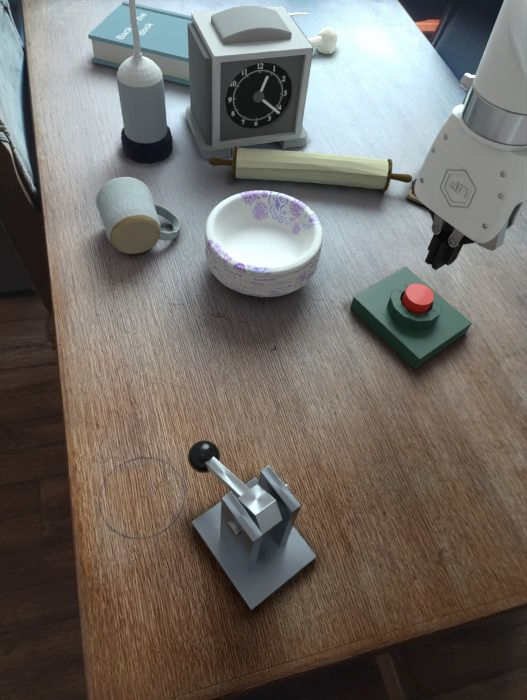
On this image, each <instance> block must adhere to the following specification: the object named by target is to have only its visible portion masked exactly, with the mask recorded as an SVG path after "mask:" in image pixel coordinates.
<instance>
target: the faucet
mask: <svg viewBox="0 0 527 700" xmlns="http://www.w3.org/2000/svg"><path fill="white" fill-rule="evenodd" d="M288 14H289V15H290V16H291V17H294V16H295V17H296V16H306V15H309V14H310V13H309V12H288ZM307 39H308V40H309V41H310V43H311V44H312V46H313V49H315V48H317V51H318V52H319V53H320V54H325V55H331V54H333V53H335V50H336V46H337V42H338V34H337V32H336V30H335V29H334V28H333V27H332V28H331V27H329V26H327V27H324V28H322V29H321V30H320V31H319V33H318V34H317V36H313V37H309V38H307Z"/></svg>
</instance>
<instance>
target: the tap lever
mask: <svg viewBox="0 0 527 700" xmlns="http://www.w3.org/2000/svg"><path fill="white" fill-rule="evenodd" d="M220 460H221V452H220V449H219V447H218V446H217V445H216V444H215V443H214V442H212V441H210V440H207V439H203V440H198V441H196V442H194V443H193V444H192V445H191V446H190V448H189V449H188V452H187V462H188V465H189V466H190V468H191V469H192V470H193V471H195V472H196V473H199V474H207V473H210V474H212V476H213V477H215V478H216V479H217V480H218V481H219V482H220V483H221V485H223V486H224V487H225V488H226V489H227V490H228V491H229V492H232V493H233V494H234V496H236V497H237V498H238V501H239V503H240V504H241V505H242V507H243V508H244V509H245V511H246V512H247V513H248V515H249V516H250V517H251V519H252V520H253V522H254V523H255V524H256V526H257V527H258V528H259V530H260V531H261V532H262V534H264V533H265V532H267V531H268V530H269V529H271V528H272V527H273V526H275V525H276V524H277V523H279V522H280V521H281V520H282V517H281V513H280V510H279V507H278V504H277V501H276V500H275V499H274V498H273V497H272V496H271V495H270V494H269V493H267V492H266V491H265V490H264V489H263V488H262V487H261V486H259V485H258V484H257V485H256V486H254V487H253V488H251V489H249V488H248V487H247V486H246V485H245V484H246V483H245V482H243V481H242V480H241V479H240V478H239V477H237V476H236V475H235V474H234V473H233V472H232V471H231V470H229V468H227V466H225V465H224V463H222V462H221V461H220Z"/></svg>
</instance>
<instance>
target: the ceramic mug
mask: <svg viewBox="0 0 527 700" xmlns="http://www.w3.org/2000/svg"><path fill="white" fill-rule="evenodd" d="M95 203H96V208H97V211H98V213H99V217H100V219H101V222H102V225H103V228H104V231H105V234H106V237H107V239H108V240H109V242H110V244H111V246H113V249H116V250H117V251H119V252H120V253H122V254H128V255H139V254H142V253H145V252H147V251H148V250H151V249H152V248H153V247H154V246H155V245H156V244H157V243H158V242H159V240H160V241H166V242H167V241H173V240H174V239H176V238H177V237H178V235H179V233H180V230H181V227H182V226H181V221H180V219H179V217H178V216H177V215H176V214H175V213H174V211H172V210H171V209H169V208H168V207H165V206H163V205H161V204H157V203H154V199H153V195H152V193H151V191H150V188H149V186H147V184H146V183H145V182H143V181H141V180H140V179H138V178H135V177H130V176H120V177H119V176H118V177H115V178H113V179H111V180H109V181H107V182H105V183H104V184H102V186H101V187H100V188H99V190H98V191H97V194H96V197H95ZM159 216H160V217H163V218H164V219H166V220H167V221H168V222H169V223H170V224H171V226H172V231H165V230H162V229H161V221H160V218H159Z"/></svg>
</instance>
